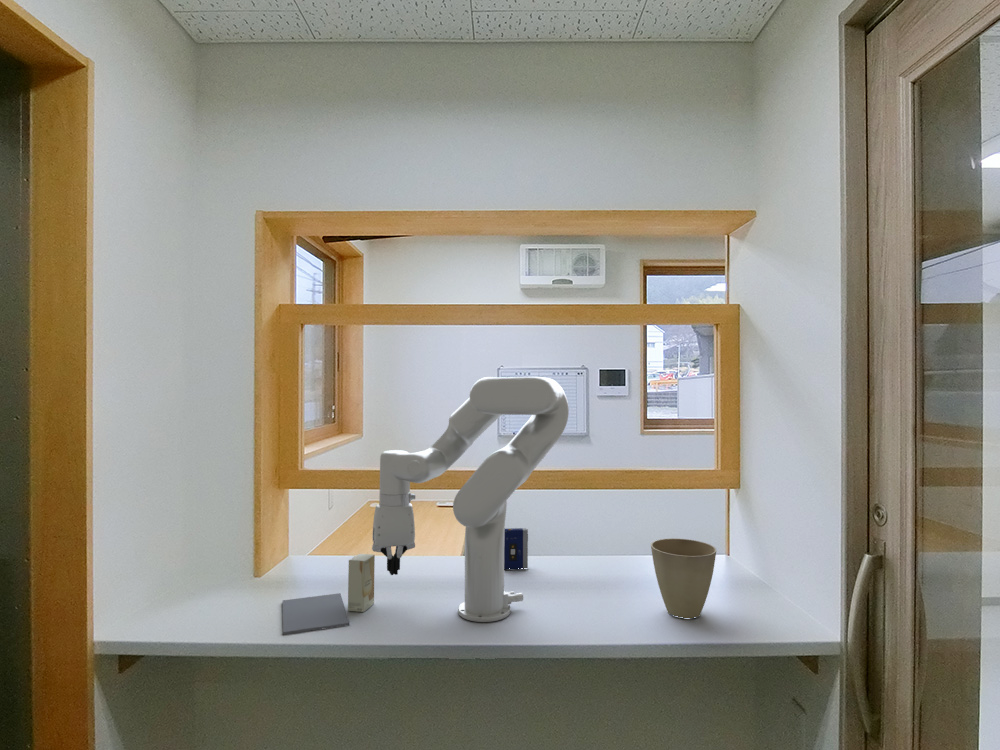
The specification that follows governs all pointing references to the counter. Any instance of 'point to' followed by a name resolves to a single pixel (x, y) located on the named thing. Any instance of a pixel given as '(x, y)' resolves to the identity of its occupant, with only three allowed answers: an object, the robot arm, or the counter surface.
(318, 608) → the mat
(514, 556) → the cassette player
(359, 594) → the skincare box
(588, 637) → the counter surface
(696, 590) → the plant pot
